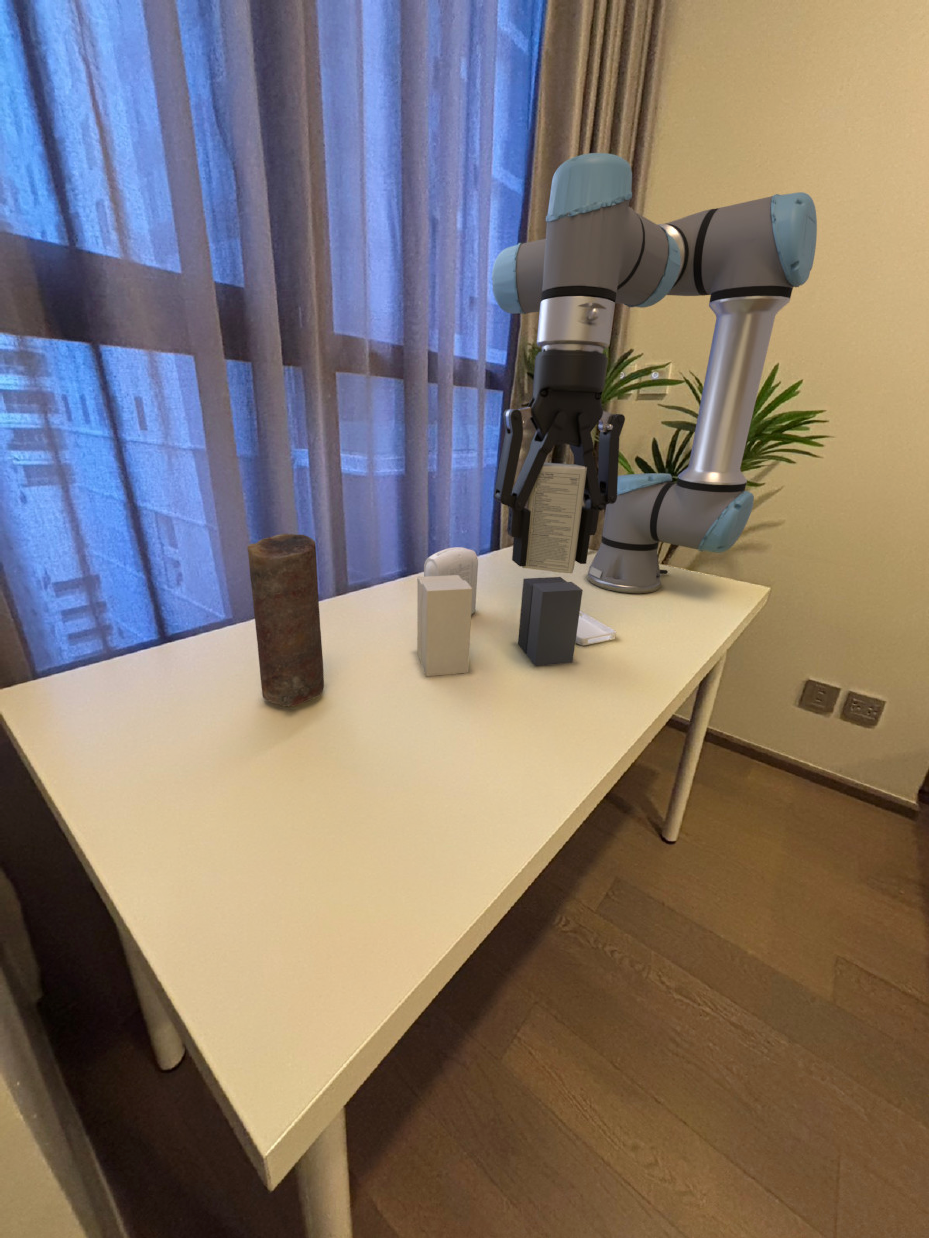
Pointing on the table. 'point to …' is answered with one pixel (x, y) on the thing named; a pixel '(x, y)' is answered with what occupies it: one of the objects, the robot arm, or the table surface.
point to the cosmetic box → (555, 517)
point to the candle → (287, 618)
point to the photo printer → (455, 567)
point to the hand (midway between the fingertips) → (548, 561)
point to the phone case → (592, 631)
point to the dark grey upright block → (549, 620)
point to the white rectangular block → (443, 624)
